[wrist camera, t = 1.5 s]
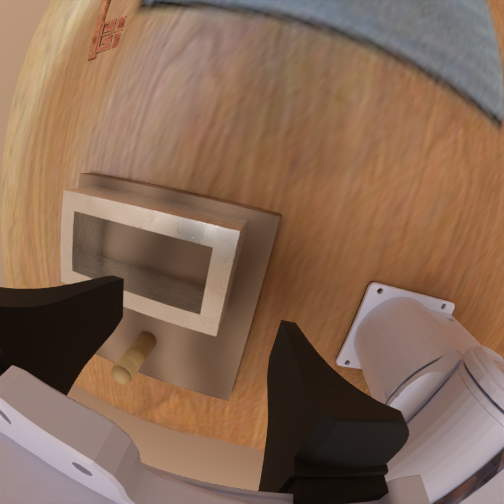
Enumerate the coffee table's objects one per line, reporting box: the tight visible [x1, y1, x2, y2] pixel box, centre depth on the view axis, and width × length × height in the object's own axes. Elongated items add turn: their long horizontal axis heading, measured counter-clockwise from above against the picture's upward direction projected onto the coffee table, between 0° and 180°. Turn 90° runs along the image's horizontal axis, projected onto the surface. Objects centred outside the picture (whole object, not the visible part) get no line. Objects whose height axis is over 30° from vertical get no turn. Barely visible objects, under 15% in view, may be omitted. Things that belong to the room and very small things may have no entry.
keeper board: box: [78, 173, 280, 401], centre depth 18 cm, size 16×17×7 cm
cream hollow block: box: [61, 186, 248, 336], centre depth 17 cm, size 12×7×4 cm, turn 76°
